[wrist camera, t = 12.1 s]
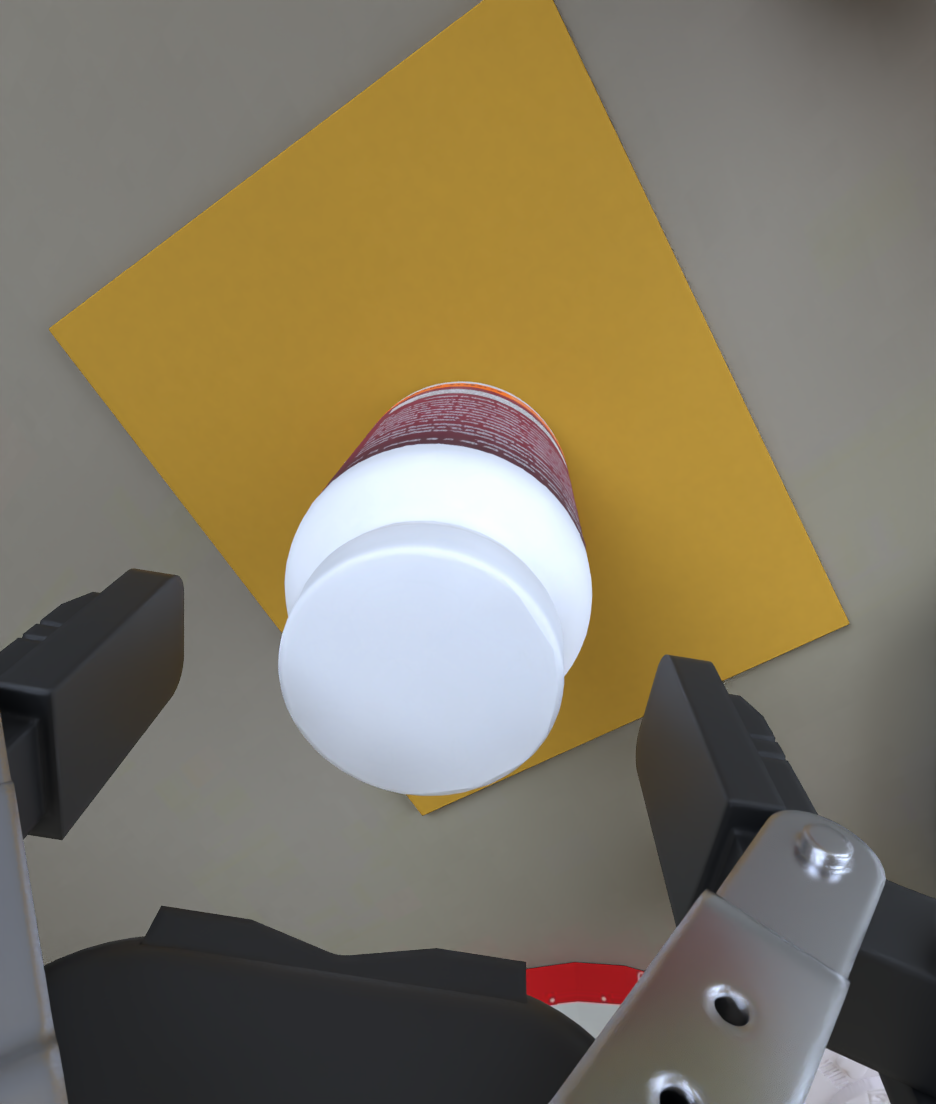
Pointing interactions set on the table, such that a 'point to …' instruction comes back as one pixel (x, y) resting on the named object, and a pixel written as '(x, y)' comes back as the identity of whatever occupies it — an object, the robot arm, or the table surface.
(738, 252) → the table surface
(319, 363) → the cloth
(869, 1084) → the smoothie
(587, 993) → the kitchen timer
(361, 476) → the pill bottle
